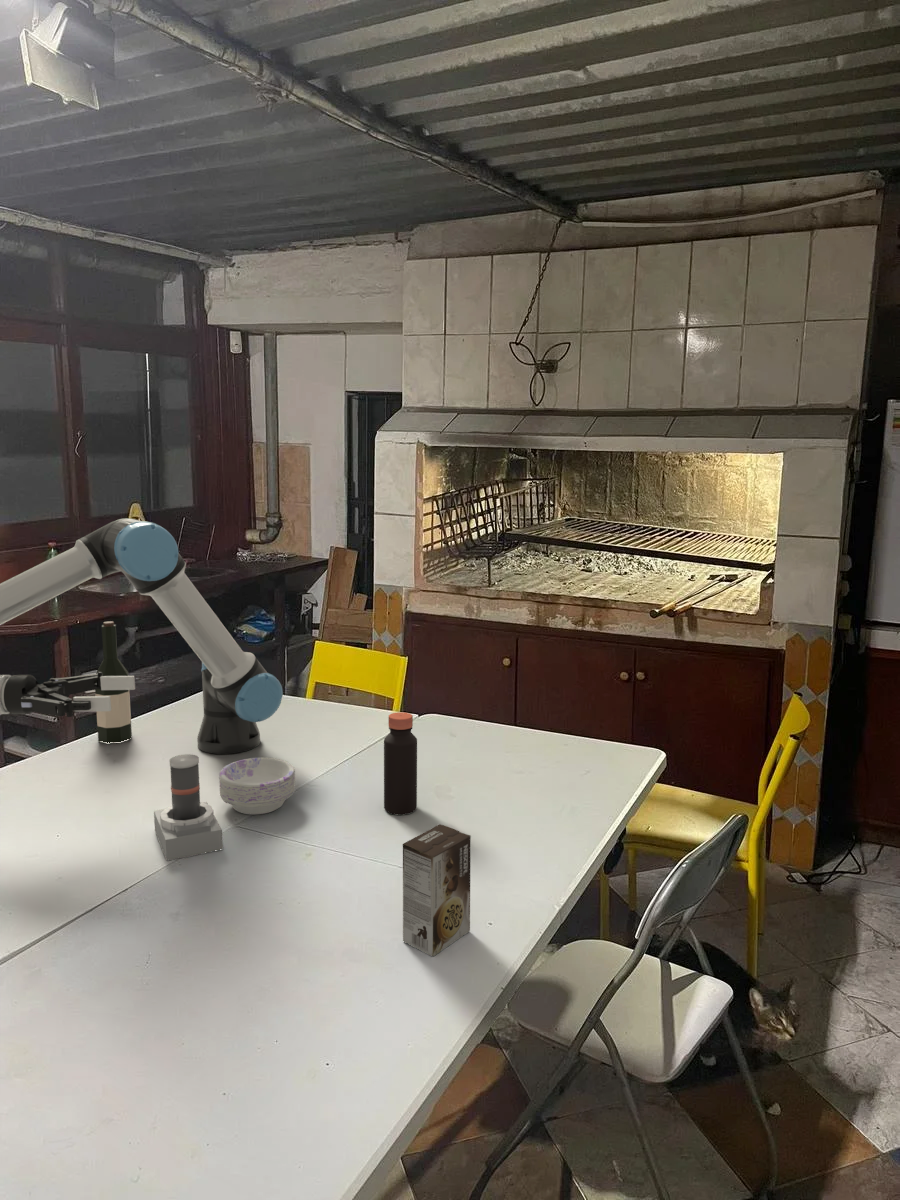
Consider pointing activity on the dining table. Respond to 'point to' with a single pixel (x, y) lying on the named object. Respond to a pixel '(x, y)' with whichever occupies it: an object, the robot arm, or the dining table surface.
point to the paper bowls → (257, 784)
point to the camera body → (188, 833)
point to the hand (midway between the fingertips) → (122, 692)
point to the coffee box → (436, 889)
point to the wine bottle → (113, 692)
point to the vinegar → (400, 765)
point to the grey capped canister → (185, 787)
